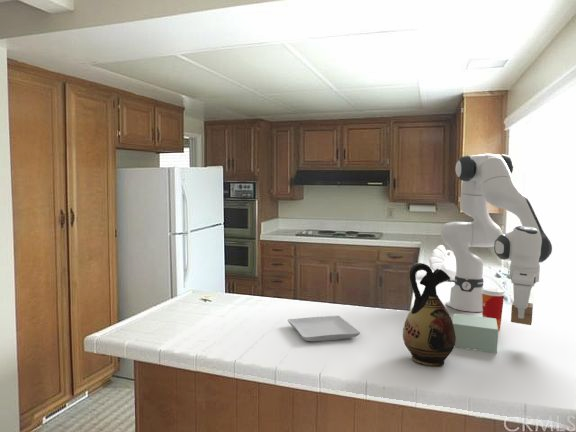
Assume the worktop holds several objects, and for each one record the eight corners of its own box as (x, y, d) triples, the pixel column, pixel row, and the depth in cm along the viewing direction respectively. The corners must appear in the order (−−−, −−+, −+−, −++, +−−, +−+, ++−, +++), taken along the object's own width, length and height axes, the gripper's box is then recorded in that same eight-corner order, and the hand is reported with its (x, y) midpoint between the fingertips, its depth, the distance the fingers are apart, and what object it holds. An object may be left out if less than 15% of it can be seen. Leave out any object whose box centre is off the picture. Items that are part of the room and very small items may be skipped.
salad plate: (303, 346, 147) (303, 336, 147) (286, 327, 168) (286, 318, 167) (361, 341, 153) (362, 332, 153) (338, 323, 173) (338, 315, 173)
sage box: (452, 334, 162) (453, 313, 162) (494, 340, 157) (496, 318, 156) (451, 346, 149) (452, 323, 149) (496, 353, 144) (498, 329, 144)
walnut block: (512, 317, 154) (513, 300, 154) (531, 320, 151) (533, 303, 151) (510, 322, 149) (511, 304, 149) (531, 325, 146) (532, 307, 146)
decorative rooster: (460, 277, 275) (462, 237, 273) (472, 282, 259) (474, 240, 257) (421, 277, 273) (422, 236, 271) (431, 282, 257) (433, 239, 256)
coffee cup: (484, 323, 176) (486, 286, 175) (506, 328, 170) (508, 290, 170) (476, 328, 170) (477, 289, 169) (498, 333, 164) (500, 293, 164)
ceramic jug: (442, 351, 144) (446, 260, 142) (463, 370, 129) (467, 268, 127) (391, 351, 144) (394, 259, 142) (405, 370, 128) (409, 267, 126)
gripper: (516, 268, 159) (513, 306, 161) (511, 279, 142) (508, 321, 143) (536, 270, 156) (533, 309, 157) (533, 281, 139) (530, 324, 140)
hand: (521, 315), depth 150 cm, fingers closed on walnut block, 6 cm apart
